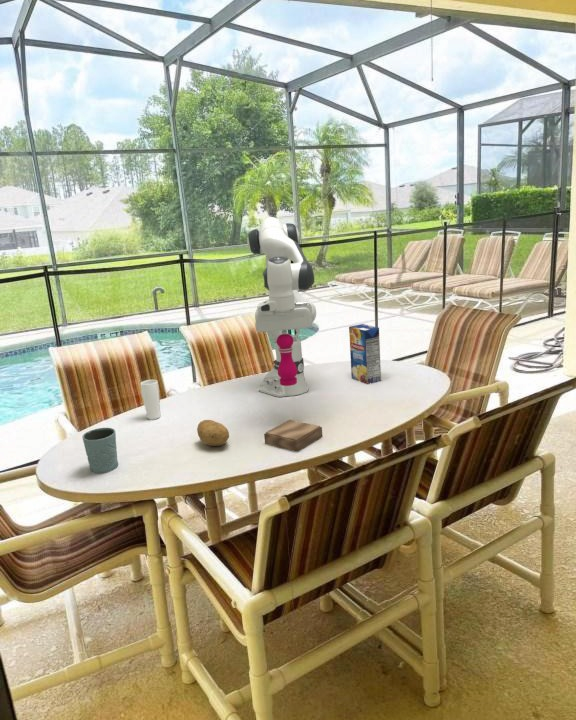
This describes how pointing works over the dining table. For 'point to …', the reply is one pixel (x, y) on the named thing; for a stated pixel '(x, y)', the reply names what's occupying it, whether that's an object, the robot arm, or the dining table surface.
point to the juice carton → (365, 353)
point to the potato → (212, 433)
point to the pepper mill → (286, 360)
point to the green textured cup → (101, 450)
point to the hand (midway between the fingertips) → (285, 342)
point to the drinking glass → (151, 398)
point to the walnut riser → (293, 435)
